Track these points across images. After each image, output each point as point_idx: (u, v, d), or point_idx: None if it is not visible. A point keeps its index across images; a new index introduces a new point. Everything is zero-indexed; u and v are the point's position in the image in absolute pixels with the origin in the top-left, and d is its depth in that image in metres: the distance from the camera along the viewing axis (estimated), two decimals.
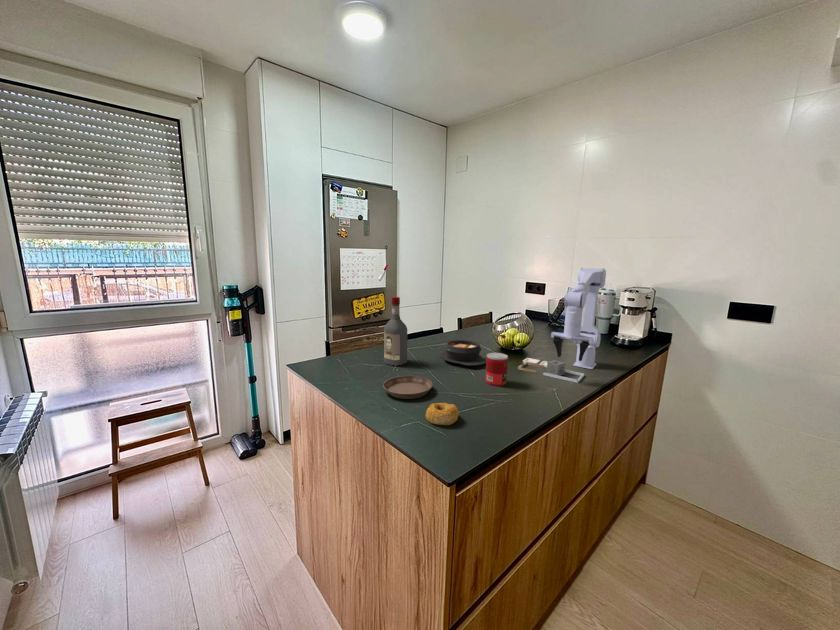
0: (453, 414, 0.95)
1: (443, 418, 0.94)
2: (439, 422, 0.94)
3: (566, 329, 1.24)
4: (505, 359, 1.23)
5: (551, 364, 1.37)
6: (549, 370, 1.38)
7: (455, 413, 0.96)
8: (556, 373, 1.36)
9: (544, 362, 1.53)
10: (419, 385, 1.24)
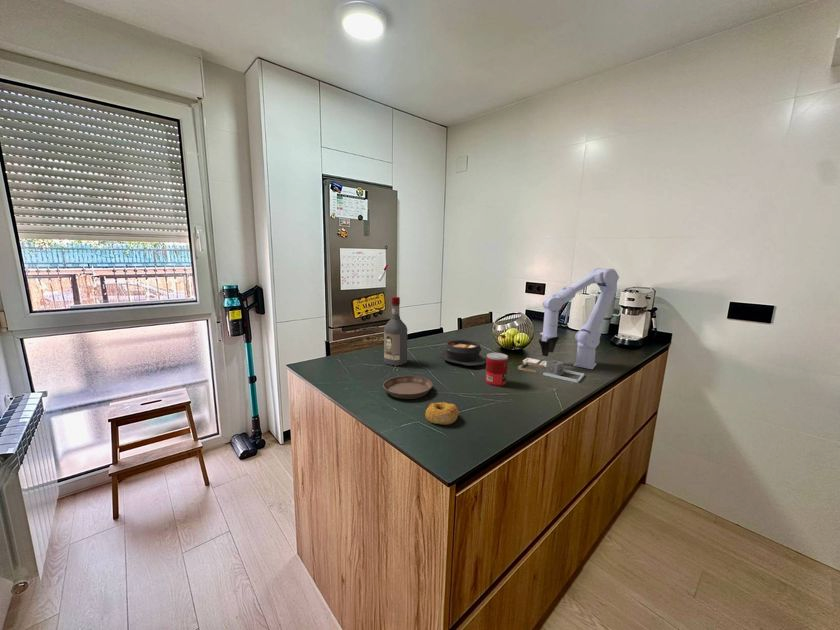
0: (453, 414, 0.95)
1: (443, 418, 0.94)
2: (439, 421, 0.95)
3: None
4: (505, 359, 1.23)
5: (550, 364, 1.38)
6: (548, 370, 1.39)
7: (455, 412, 0.96)
8: (555, 373, 1.36)
9: (544, 362, 1.53)
10: (419, 385, 1.24)
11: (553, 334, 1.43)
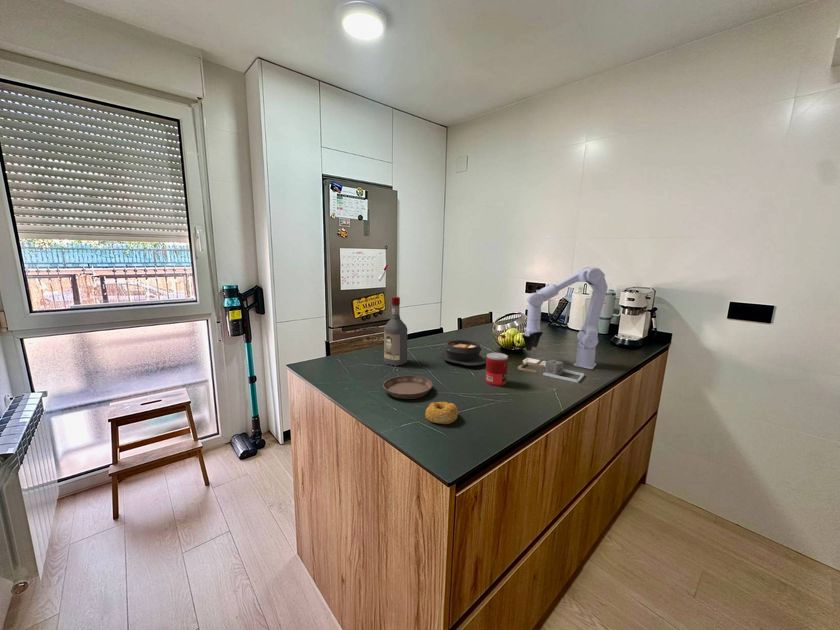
0: (453, 413, 0.96)
1: (443, 417, 0.95)
2: (439, 421, 0.95)
3: None
4: (505, 359, 1.23)
5: (549, 363, 1.38)
6: (547, 369, 1.39)
7: (455, 412, 0.96)
8: (554, 372, 1.36)
9: (544, 362, 1.53)
10: (419, 385, 1.24)
11: (536, 329, 1.48)
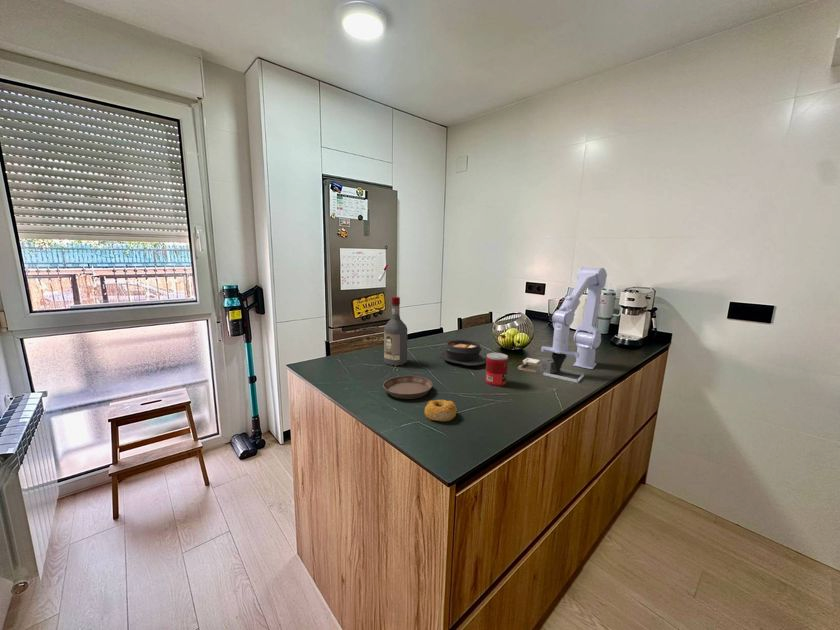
0: (452, 411, 0.97)
1: (442, 415, 0.96)
2: (438, 418, 0.97)
3: (554, 344, 1.35)
4: (505, 359, 1.23)
5: (544, 362, 1.40)
6: (542, 368, 1.41)
7: (453, 409, 0.98)
8: (548, 370, 1.38)
9: None
10: (419, 385, 1.24)
11: None
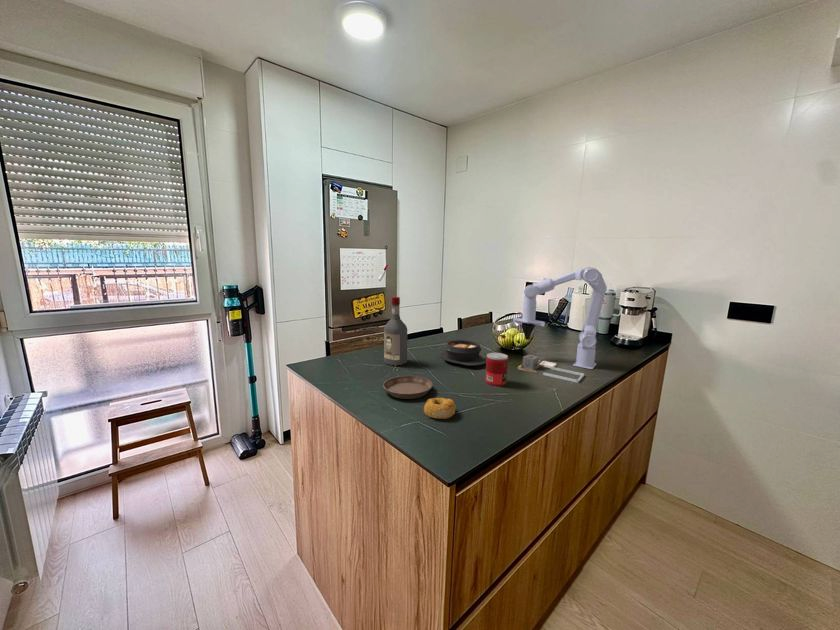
0: (451, 408, 0.99)
1: (441, 412, 0.98)
2: (437, 416, 0.98)
3: (523, 315, 1.54)
4: (505, 359, 1.23)
5: (526, 358, 1.45)
6: (525, 364, 1.46)
7: (452, 407, 1.00)
8: (531, 367, 1.43)
9: (544, 362, 1.53)
10: (419, 385, 1.23)
11: None
